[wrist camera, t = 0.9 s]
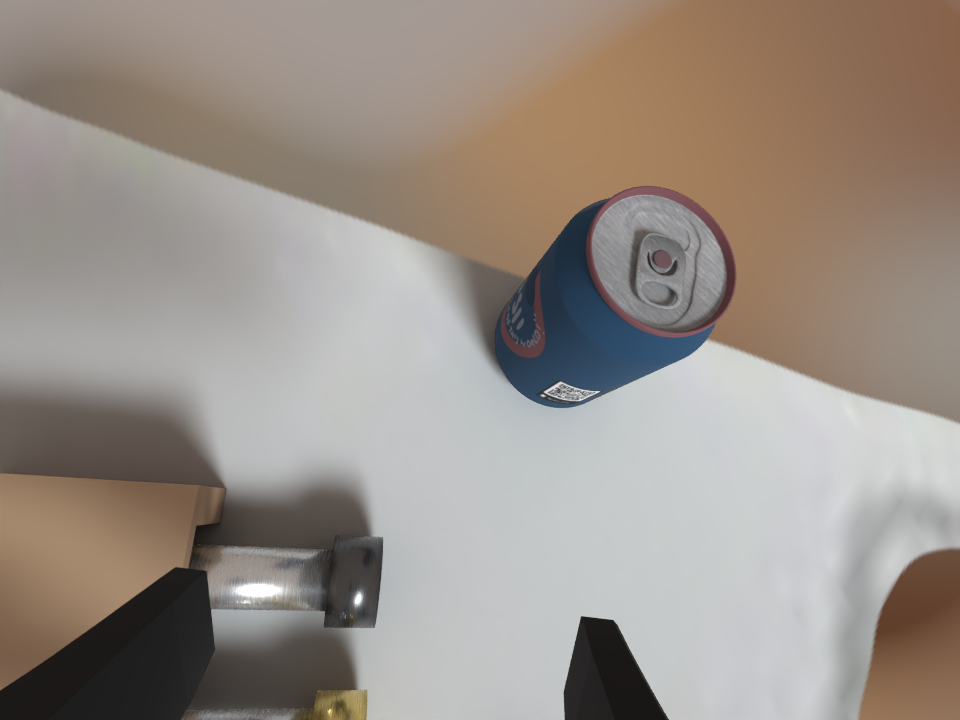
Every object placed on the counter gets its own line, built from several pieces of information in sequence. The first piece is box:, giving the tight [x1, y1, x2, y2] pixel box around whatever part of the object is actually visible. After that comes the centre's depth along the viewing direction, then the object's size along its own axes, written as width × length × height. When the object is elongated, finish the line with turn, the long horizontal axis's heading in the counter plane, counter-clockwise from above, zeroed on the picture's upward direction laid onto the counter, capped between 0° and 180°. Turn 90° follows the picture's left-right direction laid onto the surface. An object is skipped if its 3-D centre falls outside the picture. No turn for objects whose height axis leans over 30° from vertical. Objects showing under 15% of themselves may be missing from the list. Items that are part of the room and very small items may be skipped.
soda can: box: [495, 186, 736, 408], centre depth 24 cm, size 7×7×12 cm
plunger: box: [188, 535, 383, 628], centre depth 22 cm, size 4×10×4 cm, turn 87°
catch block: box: [0, 473, 226, 690], centre depth 20 cm, size 13×9×4 cm
